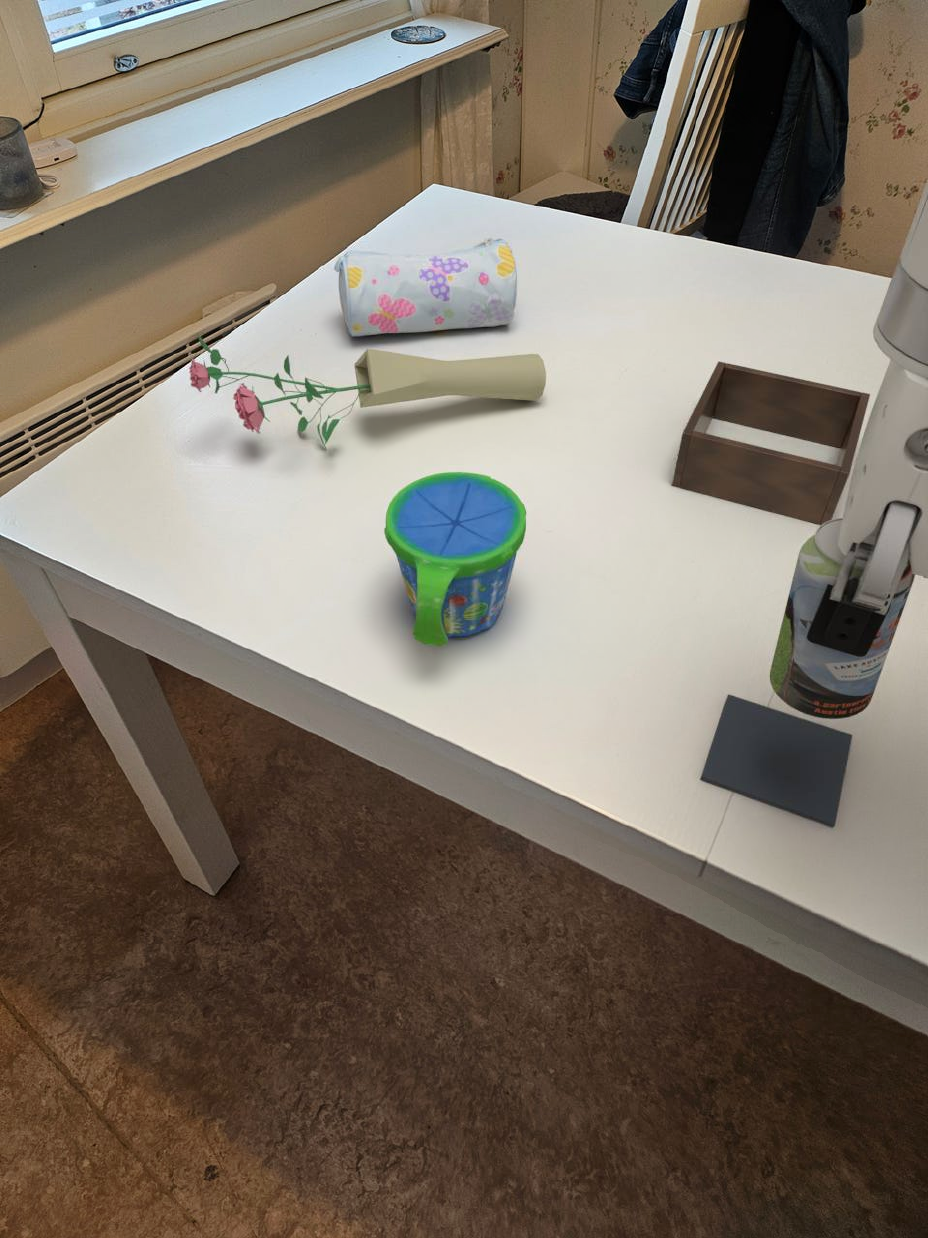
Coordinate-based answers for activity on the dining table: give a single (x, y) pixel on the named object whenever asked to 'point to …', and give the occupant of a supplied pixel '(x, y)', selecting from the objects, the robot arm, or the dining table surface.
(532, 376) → the flower vase
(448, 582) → the snack cup
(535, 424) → the dining table surface
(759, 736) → the mat
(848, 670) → the beverage can
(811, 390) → the open wooden box
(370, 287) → the pencil case
